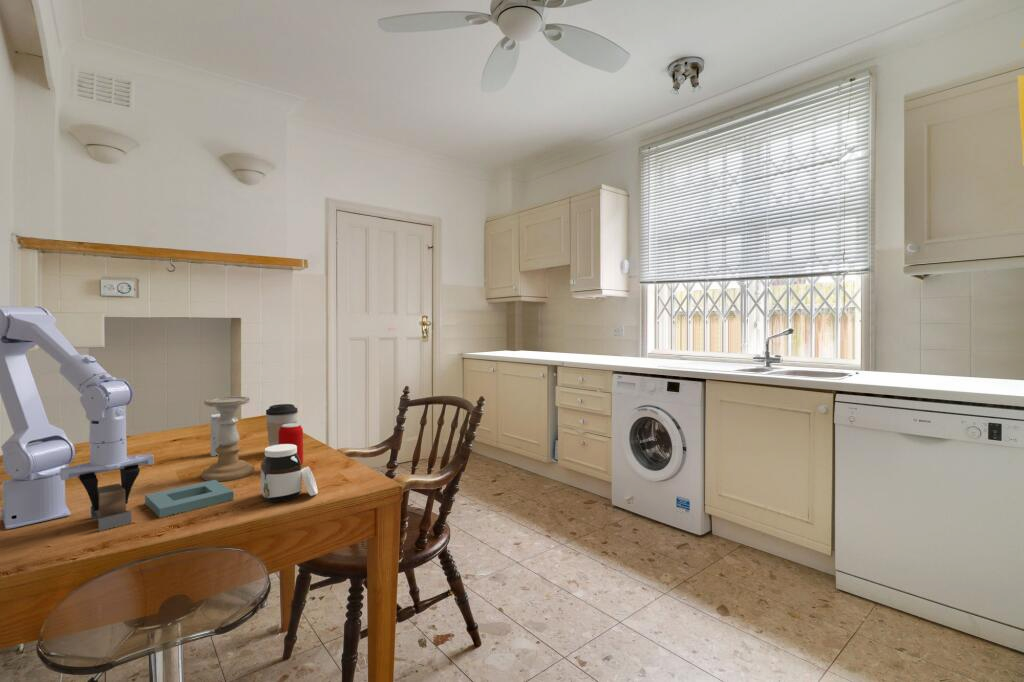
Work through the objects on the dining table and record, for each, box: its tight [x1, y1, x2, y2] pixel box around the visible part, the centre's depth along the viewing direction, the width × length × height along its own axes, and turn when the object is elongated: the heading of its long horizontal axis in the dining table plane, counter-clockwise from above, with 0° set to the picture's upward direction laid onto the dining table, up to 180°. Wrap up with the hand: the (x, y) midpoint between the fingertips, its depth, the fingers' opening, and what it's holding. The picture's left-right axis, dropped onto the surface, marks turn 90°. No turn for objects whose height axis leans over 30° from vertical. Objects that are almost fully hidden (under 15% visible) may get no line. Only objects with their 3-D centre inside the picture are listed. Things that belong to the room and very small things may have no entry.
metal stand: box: [89, 505, 132, 532], centre depth 99 cm, size 5×10×2 cm, turn 49°
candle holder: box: [200, 395, 255, 482], centre depth 129 cm, size 12×12×20 cm
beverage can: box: [278, 422, 304, 466], centre depth 136 cm, size 6×6×12 cm
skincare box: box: [210, 413, 220, 457], centre depth 149 cm, size 6×4×12 cm
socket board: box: [144, 480, 234, 519], centre depth 110 cm, size 14×12×2 cm
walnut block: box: [95, 483, 127, 517], centre depth 99 cm, size 4×6×5 cm, turn 49°
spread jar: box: [260, 444, 319, 503], centre depth 114 cm, size 12×11×12 cm
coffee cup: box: [265, 403, 299, 447], centre depth 151 cm, size 9×9×15 cm
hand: (110, 506), depth 99 cm, fingers closed on walnut block, 4 cm apart
